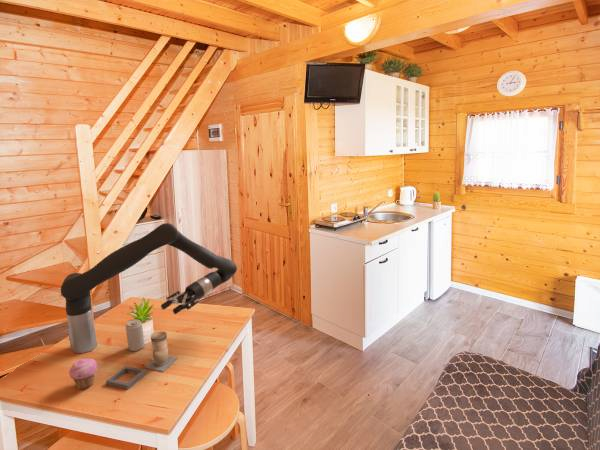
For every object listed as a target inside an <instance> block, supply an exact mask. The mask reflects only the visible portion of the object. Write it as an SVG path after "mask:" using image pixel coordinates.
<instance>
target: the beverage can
mask: <svg viewBox="0 0 600 450" xmlns="http://www.w3.org/2000/svg"><path fill="white" fill-rule="evenodd" d="M135 323H136V324H135ZM125 324H126V325H125V332H126V339H127V341H126V342H127V347H128V350H130V351H133V352H137V351H141V350H142V349H143V348H144V346H145V338H144V337H145V336H144V329H143V323H142V321H141V320H140V319H131V320H129V321H127V322H126V323H125Z"/></svg>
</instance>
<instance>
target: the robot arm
mask: <svg viewBox="0 0 600 450" xmlns="http://www.w3.org/2000/svg"><path fill="white" fill-rule="evenodd" d="M166 245H168V246H171V247H173V248H175V249H177V250H179V251H181V252H182V253H184V254H185V255H187V256H188V257H190V258H192V260H194V261H196V262H197V263H199V264H200V265H202V266H204V267H206V268H207V269H210V270H212V269H216V270H215V271H211V272H209V273H207V274H205V275H204V276H202V277H200V278H198V279H197V280H195V281H193V282H192V283H190V284H189V285H187V286H186V287H185V290H184V291H182V292H180V291H179V290H177V291H176V292H174V293H172V294H171V295H169V296H167V297H166V299H167V300H166V301H165V302H163V303H161V305H160V308H161V310H166V309H167V308H169V307H170V306H171V305H172V306H173V305H174V304H175V305H177V306H175V307H174V308H172V312H173V314H174V315H177V314H178V313H180V312H182V311H183V310H184V311H185V310H191V308H192V307H194V306H195V305H197V304H198V303H199V302H200V301H199V300H201V299H203V298H204V297H205V296H207V295H208V294H209V293H211V292H212V291H213V290H214V289H216V288H217V287H219V286H221V285H222V284H224V283H226V282H228V281H229V280H231V279H232V277H234V275H235V274H236V272H237V271H238V266H237V265H236V263H235V261H232V260H231V259H228V258H225V257H223V256H220V255H217V254H215V253H214V252H212V251H210V250H209V249H207V248H206V247H204V246H202V245H200V244H198V243H196V242H195V241H192V240H191V239H189V238H188V237H186V236H185V235H184V234H182V233H181V232H180V231H179V230H178V229H177V227H176V226H175V225H174V224H172V223H169V222H167V223H166V222H165V223H162V224H160V225H158V226H157V227H156V228H154V229H153V230H152V231H150V232H149V233H147V234H146V235H144V236H142V237H141V238H138V239H137V240H134V241H132V242H130V243H127V244H125V245H123V246H122V247H120V248H118V249H115V251H113V252H111V253H110V254H108V255H107V256H105V257H104V258H103V259H101V260H100V261H99V262H98V263H97V264H95V265H94V266H93V267H92V268H90V269H88V270H87V271H85V272H83V273H80V272H73V273H70V274H68V275H66V277H65V278H64V280H63V282H62V283H61V286H60V294H61V296H62V297H63V298H65V313H66V318H67V324H68V329H67V332H68V339H69V344H70V350H71V351H72V352H73V353H75V354H83V353H88V352H90V351H92V350H94V349H95V348H96V347H98V341H97V340H98V339H97V333H96V328H95V320H94V315H93V309H92V308H93V307H92V297H91V296H92V295H91V291H92V290H94V289H95V288H96V287H98V286H99V285H100V284H102V283H105V282H106V281H108V280H110V279H111V278H114V277H116V276H118V275H119V274H121V273H123V272H125V271H127V270H128V269H130V268H132V267H134V266H135V265H136V264H137V263H139V262H140V261H142V260H143V259H144V258H146V257H147V256H148V255H149V254H150V253H152V252H154V251H155V250H157V249H160V248H162V247H163V246H166Z"/></svg>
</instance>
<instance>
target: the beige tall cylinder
mask: <svg viewBox="0 0 600 450" xmlns="http://www.w3.org/2000/svg"><path fill="white" fill-rule="evenodd" d="M167 334H168V333H167V332H166V331H161V330H160V331H155V332H154V333H152V334H151V335H150V341H151V349H152V350H151V351H152V360H153V361H154V365H155V366H164V365H166V364H167V363H168V362H169V358H168V356H169V348H168V340H167V339H168V338H167V337H168V335H167Z"/></svg>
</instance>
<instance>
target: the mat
mask: <svg viewBox="0 0 600 450" xmlns="http://www.w3.org/2000/svg"><path fill="white" fill-rule="evenodd" d="M168 358H169V362H168V363H167V364H166V365H164V366H155V365H154V361H153V359H152V360H151V361H149V362H148V363H147V364H146V365H145V366H143V368H144V369H145V370H152V371H158V372H162V373H164V372H165V371H166V370H167V369H169V368H170V367H171V366H172V365H173V364H174V363H175V362H176V361H177V360H178V357H174V356H169V355H168Z"/></svg>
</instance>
